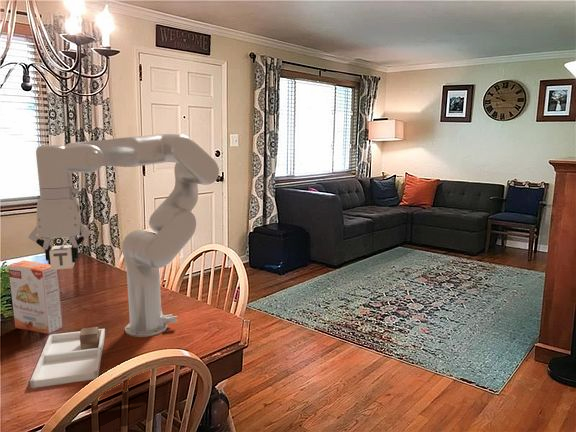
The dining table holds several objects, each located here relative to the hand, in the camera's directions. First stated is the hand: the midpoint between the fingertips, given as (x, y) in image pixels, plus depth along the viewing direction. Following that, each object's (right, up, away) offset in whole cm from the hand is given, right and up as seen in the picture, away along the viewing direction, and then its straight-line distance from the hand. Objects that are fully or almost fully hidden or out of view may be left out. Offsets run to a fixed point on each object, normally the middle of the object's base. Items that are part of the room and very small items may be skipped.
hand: (62, 261), depth 122 cm
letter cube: (0, -1, 0) cm, 1 cm away
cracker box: (-18, -23, +22) cm, 37 cm away
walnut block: (+3, -25, +11) cm, 28 cm away
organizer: (+1, -27, +4) cm, 27 cm away
